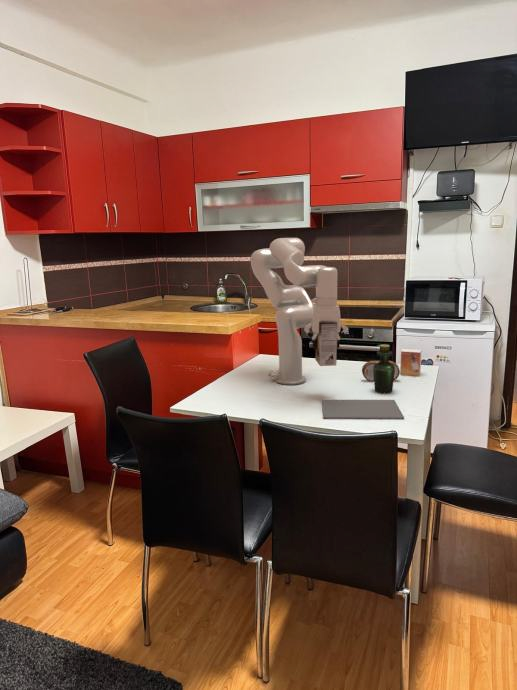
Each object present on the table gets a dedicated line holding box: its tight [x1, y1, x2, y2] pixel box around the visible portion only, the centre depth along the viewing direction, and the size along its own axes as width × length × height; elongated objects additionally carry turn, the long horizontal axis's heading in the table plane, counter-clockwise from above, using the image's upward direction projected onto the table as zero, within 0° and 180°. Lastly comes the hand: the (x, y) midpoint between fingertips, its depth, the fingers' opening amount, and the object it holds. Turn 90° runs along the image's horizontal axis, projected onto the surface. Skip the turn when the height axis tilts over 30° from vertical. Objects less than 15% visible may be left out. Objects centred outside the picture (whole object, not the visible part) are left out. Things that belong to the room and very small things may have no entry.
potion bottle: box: [373, 343, 395, 395], centre depth 187 cm, size 8×8×18 cm
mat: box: [321, 399, 405, 420], centre depth 169 cm, size 26×18×1 cm
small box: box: [399, 348, 422, 377], centre depth 209 cm, size 8×6×10 cm
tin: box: [361, 360, 400, 382], centre depth 201 cm, size 15×3×8 cm, turn 84°
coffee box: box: [314, 322, 338, 367], centre depth 180 cm, size 9×6×16 cm
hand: (325, 349), depth 180 cm, fingers closed on coffee box, 7 cm apart
